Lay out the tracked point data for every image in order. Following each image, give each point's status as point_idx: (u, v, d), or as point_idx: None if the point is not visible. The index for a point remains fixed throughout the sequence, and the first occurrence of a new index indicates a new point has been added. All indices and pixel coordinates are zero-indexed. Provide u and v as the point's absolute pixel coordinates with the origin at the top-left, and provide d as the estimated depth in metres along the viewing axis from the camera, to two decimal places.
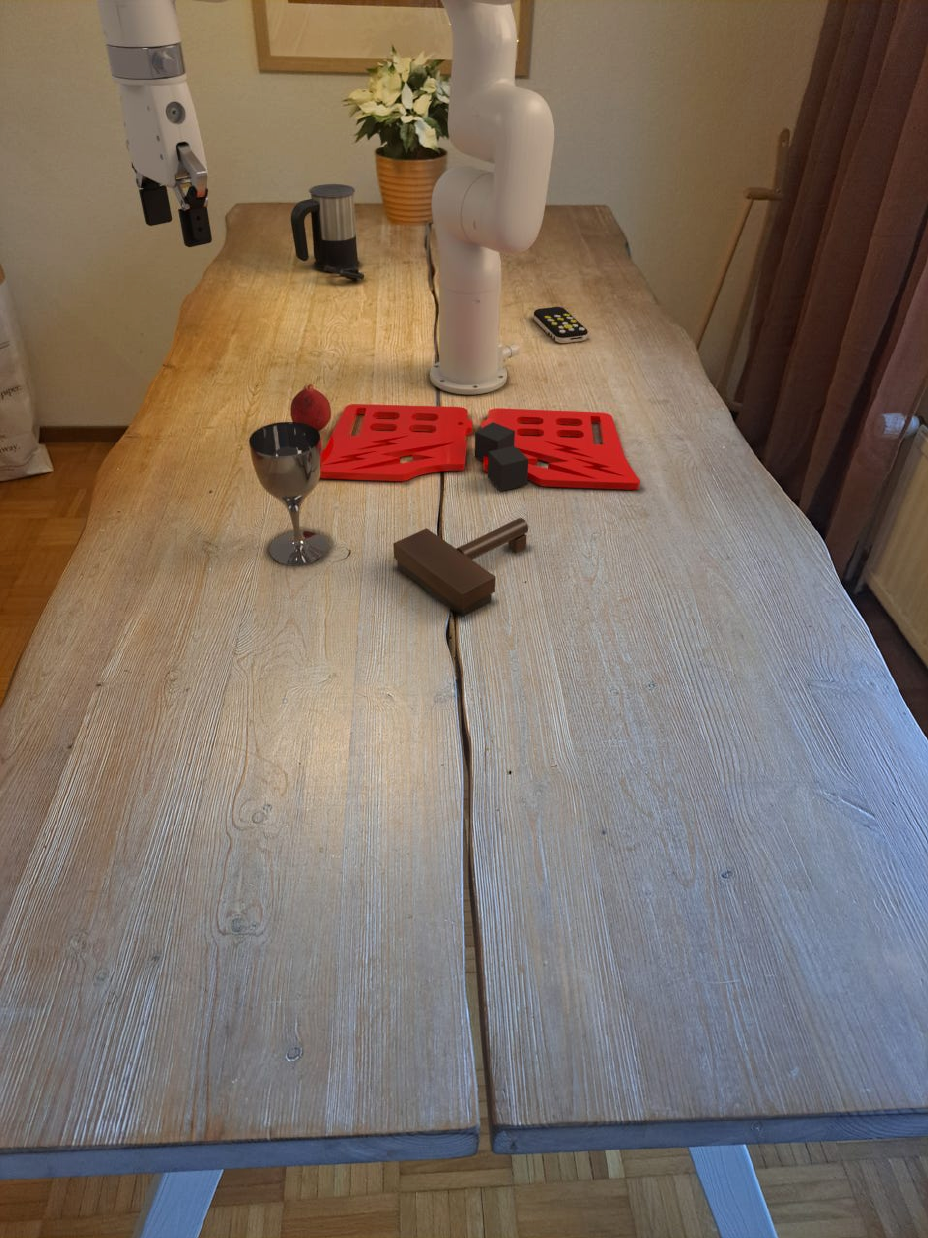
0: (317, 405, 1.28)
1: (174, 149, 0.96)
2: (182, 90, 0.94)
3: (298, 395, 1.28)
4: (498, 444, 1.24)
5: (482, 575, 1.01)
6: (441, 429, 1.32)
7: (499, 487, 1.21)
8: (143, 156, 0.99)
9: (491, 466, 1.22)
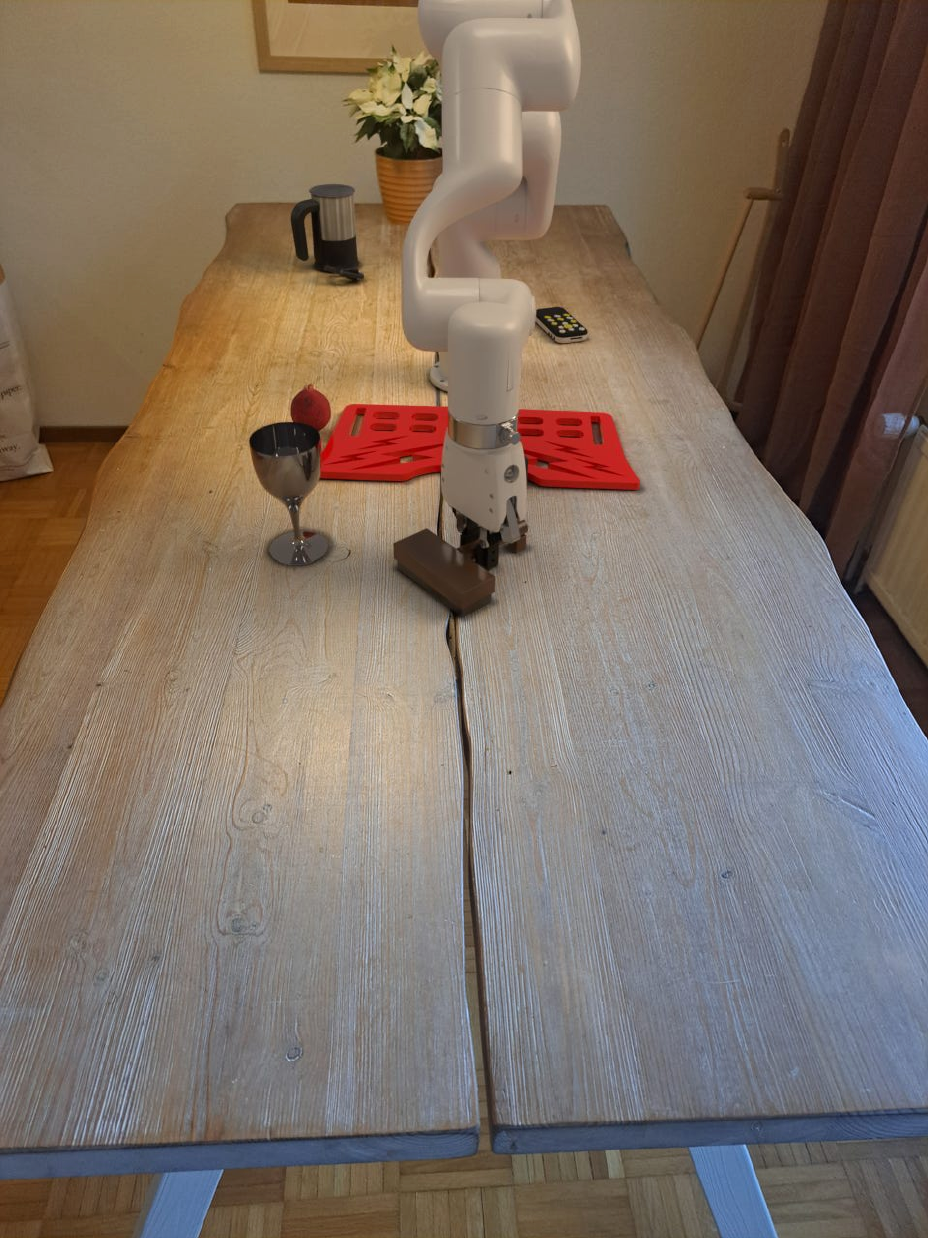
0: (317, 405, 1.28)
1: (505, 504, 0.98)
2: (519, 453, 0.96)
3: (298, 395, 1.28)
4: None
5: (482, 575, 1.01)
6: (441, 429, 1.32)
7: None
8: (464, 500, 1.01)
9: None
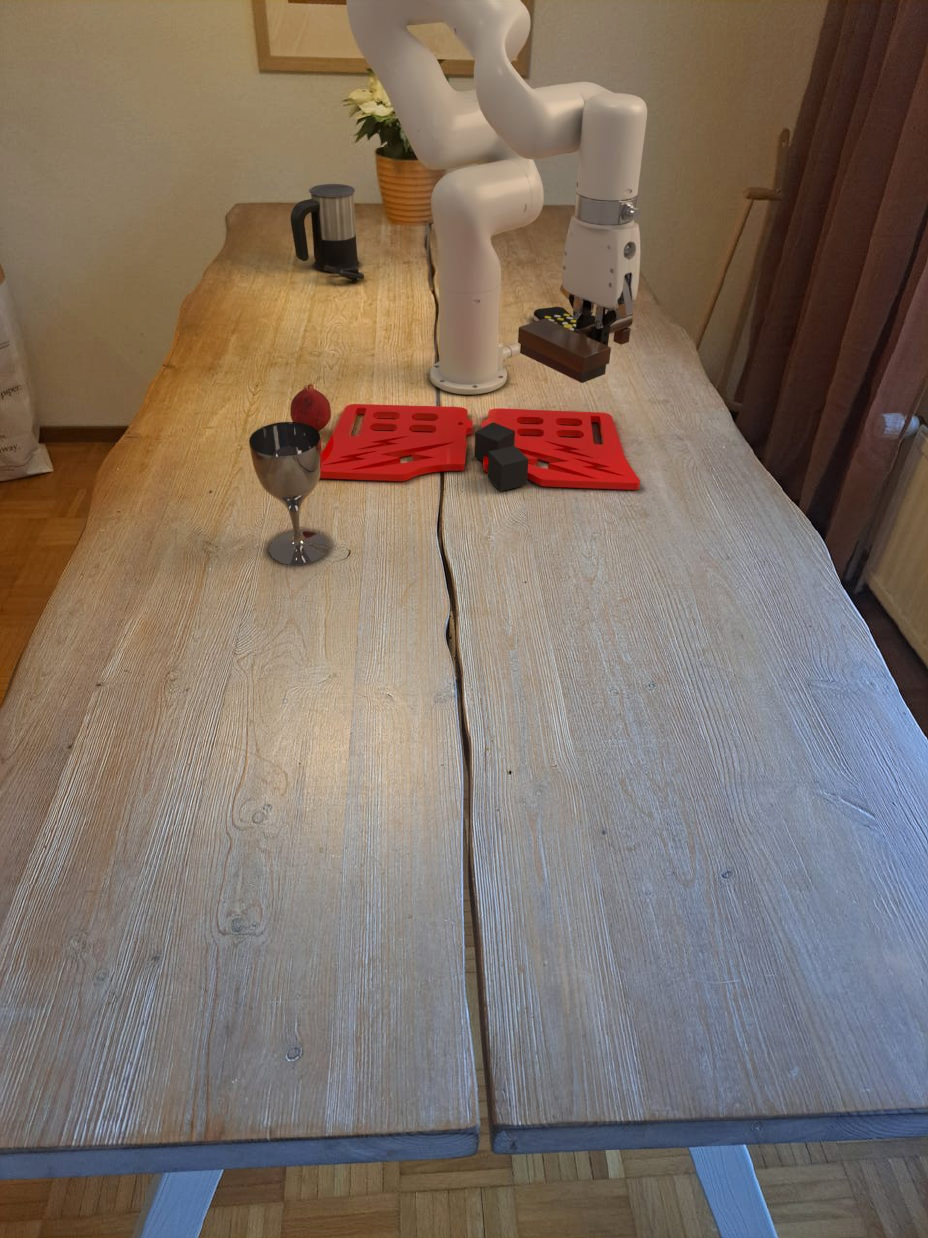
0: (317, 405, 1.28)
1: (622, 279, 1.14)
2: (636, 232, 1.12)
3: (298, 395, 1.28)
4: (498, 444, 1.24)
5: (600, 346, 1.18)
6: (441, 429, 1.32)
7: (499, 487, 1.21)
8: (584, 281, 1.17)
9: (491, 466, 1.22)
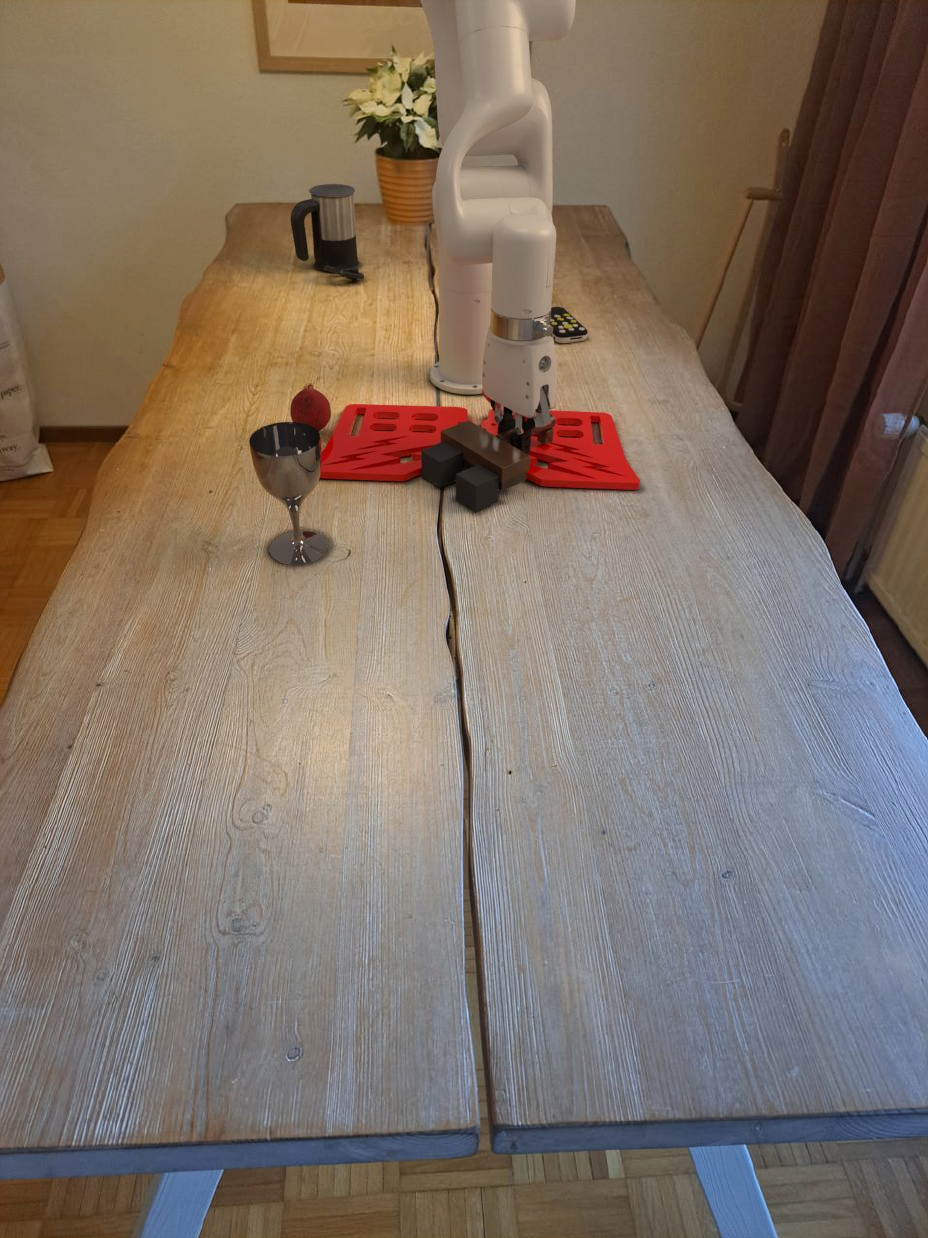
0: (317, 405, 1.28)
1: (539, 391, 1.15)
2: (551, 346, 1.13)
3: (298, 395, 1.28)
4: (440, 465, 1.19)
5: (519, 455, 1.19)
6: (441, 429, 1.32)
7: (473, 509, 1.18)
8: (503, 390, 1.18)
9: (460, 489, 1.18)
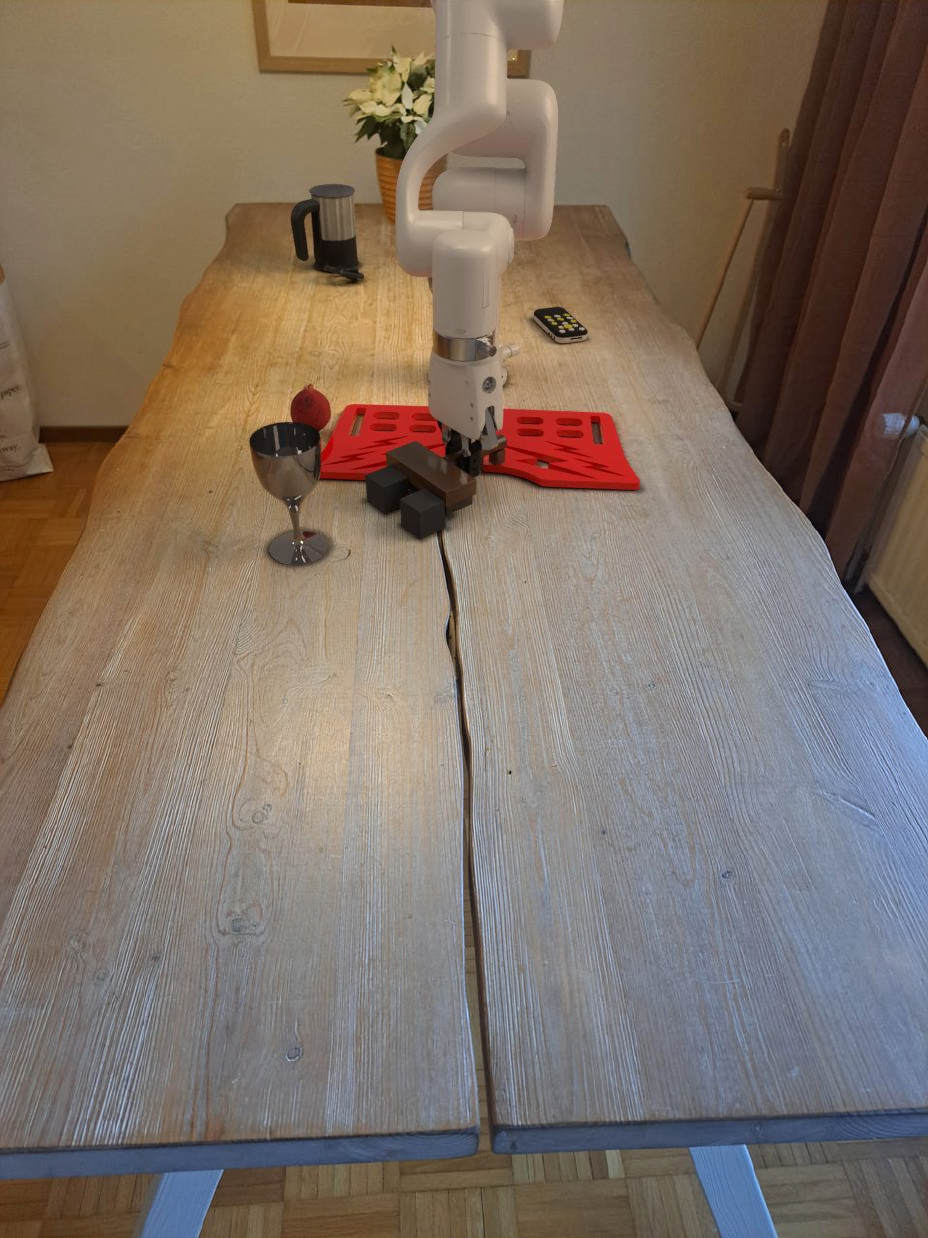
0: (317, 405, 1.28)
1: (483, 413, 1.10)
2: (496, 366, 1.09)
3: (298, 395, 1.28)
4: (384, 490, 1.15)
5: (465, 478, 1.14)
6: None
7: (418, 535, 1.13)
8: (448, 411, 1.14)
9: (405, 514, 1.13)
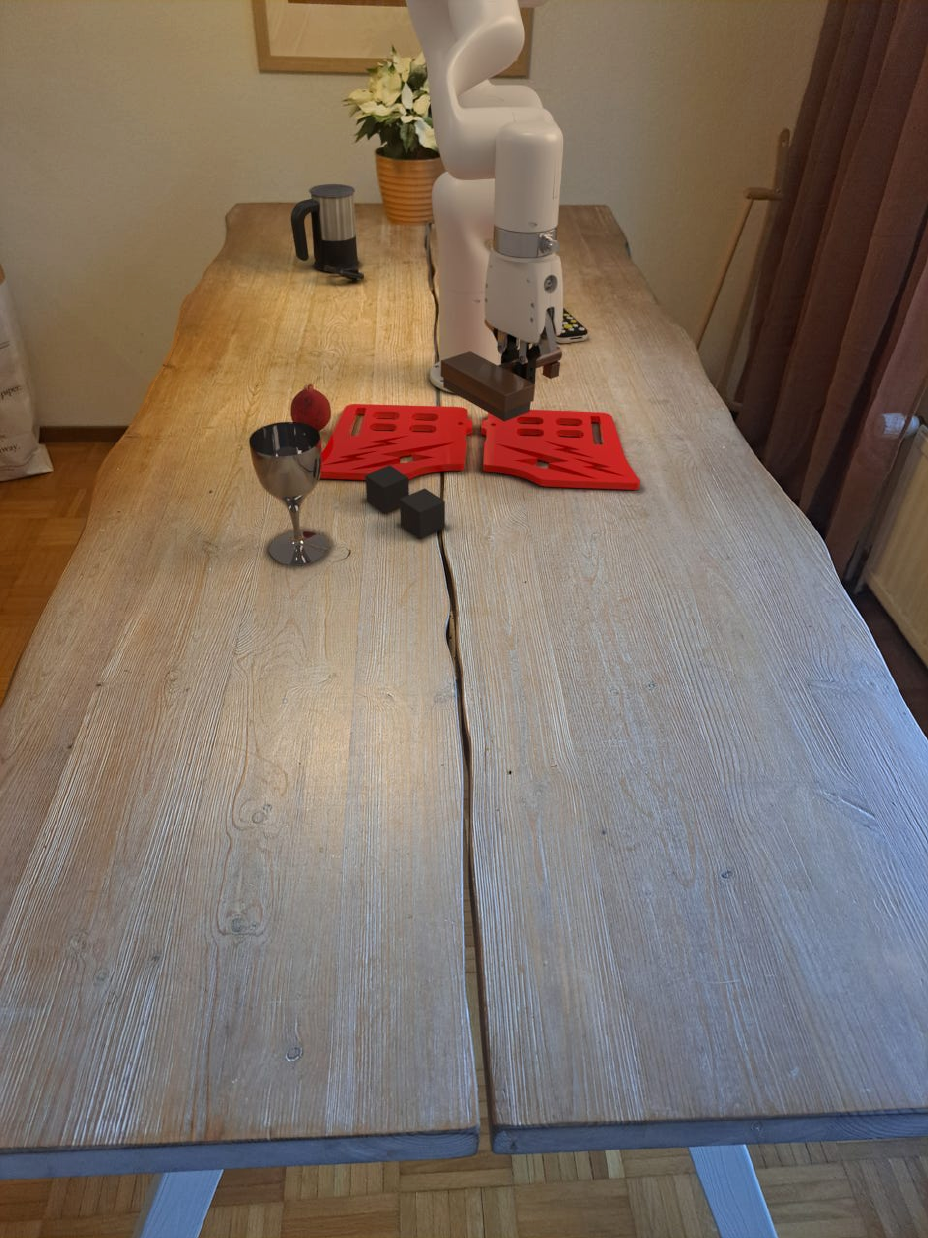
0: (317, 405, 1.28)
1: (544, 314, 1.09)
2: (557, 265, 1.07)
3: (298, 395, 1.28)
4: (384, 490, 1.15)
5: (523, 383, 1.12)
6: (441, 429, 1.32)
7: (418, 535, 1.13)
8: (506, 315, 1.12)
9: (405, 514, 1.13)
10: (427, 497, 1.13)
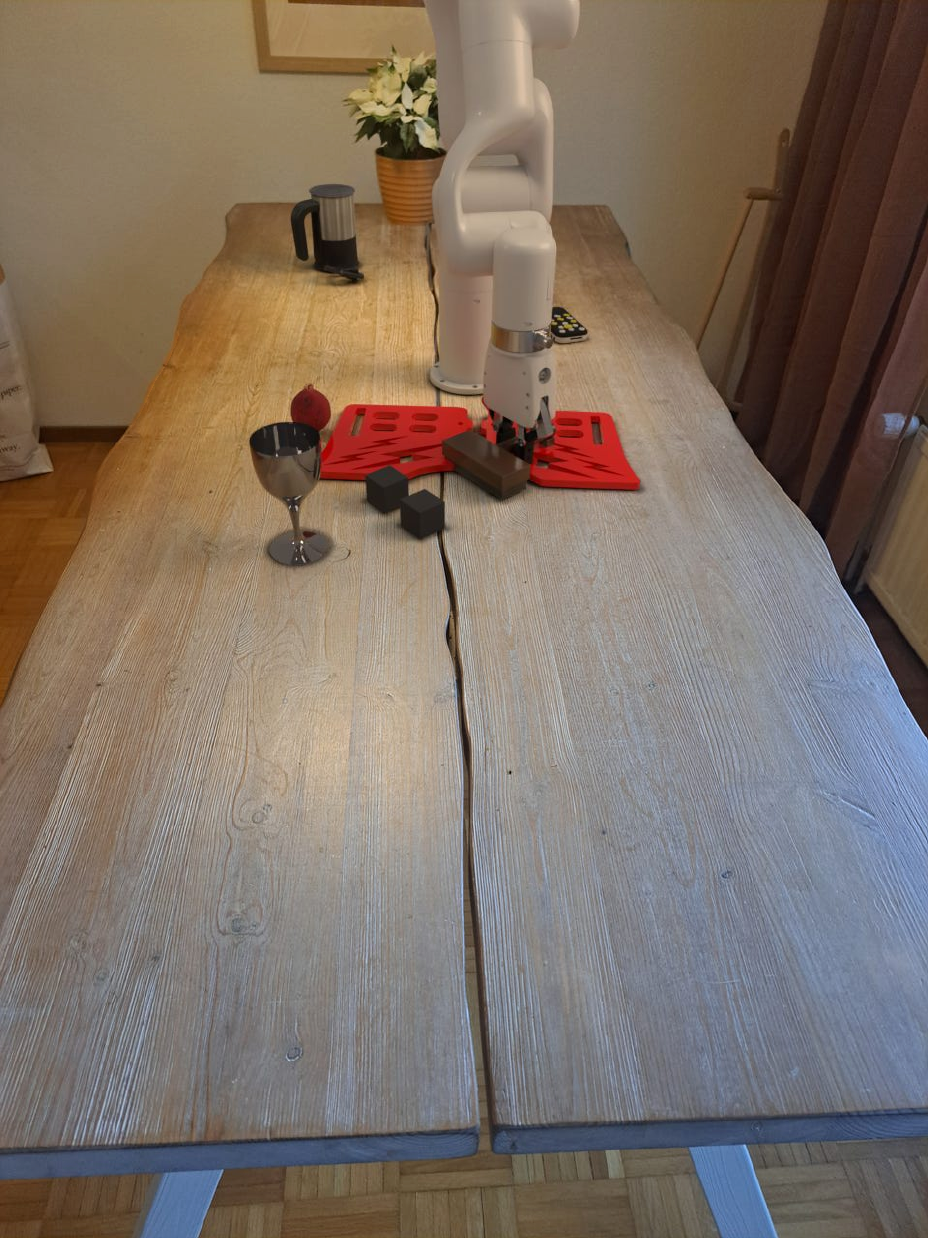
0: (317, 405, 1.28)
1: (539, 402, 1.16)
2: (551, 358, 1.14)
3: (298, 395, 1.28)
4: (384, 490, 1.15)
5: (519, 463, 1.19)
6: (441, 429, 1.32)
7: (418, 535, 1.13)
8: (503, 401, 1.19)
9: (405, 514, 1.13)
10: (427, 497, 1.13)
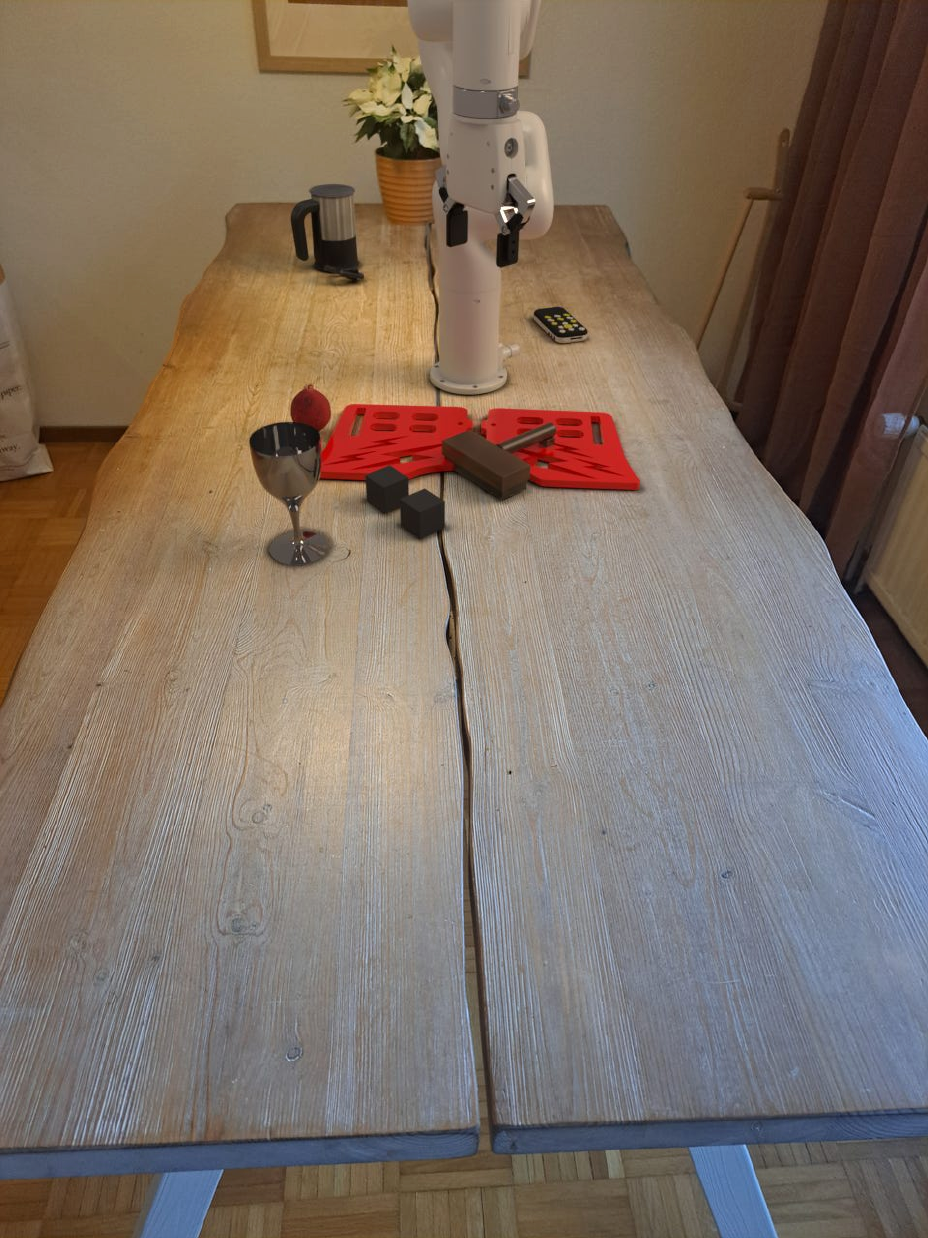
0: (317, 405, 1.28)
1: (505, 180, 1.06)
2: (518, 128, 1.04)
3: (298, 395, 1.28)
4: (384, 490, 1.15)
5: (519, 463, 1.19)
6: (441, 429, 1.32)
7: (418, 535, 1.13)
8: (467, 185, 1.09)
9: (405, 514, 1.13)
10: (427, 497, 1.13)
